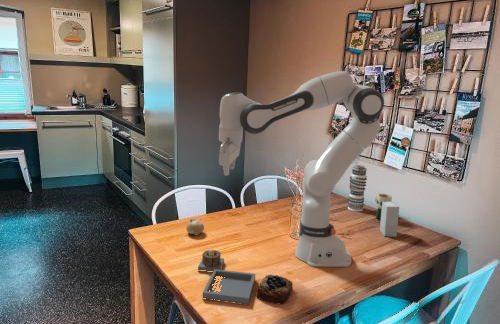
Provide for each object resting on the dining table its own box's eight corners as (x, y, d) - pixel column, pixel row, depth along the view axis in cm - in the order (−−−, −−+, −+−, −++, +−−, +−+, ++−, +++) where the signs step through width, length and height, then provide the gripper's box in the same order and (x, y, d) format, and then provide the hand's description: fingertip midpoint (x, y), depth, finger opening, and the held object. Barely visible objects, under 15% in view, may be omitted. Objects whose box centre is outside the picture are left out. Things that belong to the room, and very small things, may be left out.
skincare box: (396, 237, 169) (400, 207, 165) (383, 236, 169) (387, 206, 166) (391, 230, 177) (394, 201, 174) (378, 229, 177) (382, 200, 174)
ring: (221, 259, 138) (221, 250, 138) (217, 267, 132) (217, 258, 131) (205, 257, 139) (205, 249, 138) (200, 265, 133) (200, 256, 132)
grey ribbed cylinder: (366, 208, 206) (371, 166, 200) (358, 212, 199) (363, 168, 194) (351, 204, 212) (356, 163, 206) (344, 208, 205) (348, 165, 200)
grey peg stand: (224, 263, 139) (224, 246, 138) (219, 273, 132) (219, 256, 130) (204, 260, 141) (204, 244, 139) (198, 271, 133) (198, 254, 131)
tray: (255, 280, 128) (255, 273, 128) (248, 305, 114) (248, 298, 113) (214, 275, 131) (214, 269, 130) (202, 299, 116) (202, 292, 115)
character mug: (369, 216, 194) (371, 193, 191) (377, 214, 197) (380, 191, 195) (385, 223, 185) (388, 199, 182) (394, 221, 188) (398, 197, 186)
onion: (202, 229, 170) (202, 215, 169) (205, 236, 163) (205, 221, 161) (185, 231, 168) (185, 216, 166) (187, 238, 160) (187, 223, 159)
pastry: (252, 299, 117) (253, 283, 116) (264, 281, 128) (265, 266, 127) (285, 307, 114) (286, 291, 112) (294, 288, 125) (295, 272, 123)
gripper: (233, 141, 124) (231, 180, 127) (243, 133, 144) (242, 167, 147) (215, 139, 125) (214, 178, 128) (228, 132, 145) (226, 165, 148)
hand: (229, 172), depth 138 cm, fingers open, 8 cm apart
